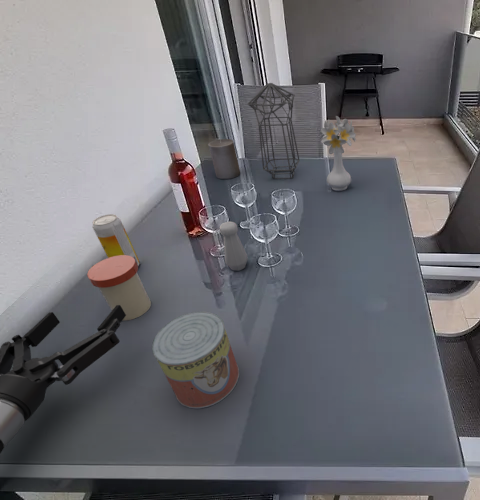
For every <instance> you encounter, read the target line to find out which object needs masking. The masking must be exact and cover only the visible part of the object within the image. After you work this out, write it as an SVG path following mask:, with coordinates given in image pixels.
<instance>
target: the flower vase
mask: <svg viewBox="0 0 480 500" xmlns="http://www.w3.org/2000/svg"><path fill="white" fill-rule="evenodd" d="M335 119H336V122H335V123H333V122H332V121H331V122H330V119H328V120H326V119H325V120H324V123H323V127H322V128H320V131H319V135H321V136H320V137H319V140H321V141H320V143H321V144H323V145H324V146H327V147H329V149H328V154H329V155H333V165H332V169H331V171H330V172H329V173H328V174H327V176H326V183H327V185H328V186H329V187H331V190H333V191H334V192H335V191H336V192H343V191H345V190H347V189H348V187H349V186H350V185H351V183H352V175H351V174H350V173H349V172H348V171H347V170H346V168H345V165H344V161H343V154H344V153H345V149H344V148H343V145H345V144H347V145H348V146H349V147H352V144H353V143H352V140H353V142H354V143H356V141H357V138H356V136H357V133H356V132H355V126H353V125H352V124H353V122H352V119H351V120H350V123H349V120H348V119H347V118H344V119H342V120H341V117H339V116H338V115H335ZM339 134H340V135H339Z"/></svg>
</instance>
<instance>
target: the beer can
mask: <svg viewBox="0 0 480 500" xmlns="http://www.w3.org/2000/svg"><path fill="white" fill-rule="evenodd" d="M92 229H93V231H94V233H95V235H96V237H97V239H98V241H99V243H100V245H101V247H102V249H103V251H104V253H105V254H106V257H107V258H110V257H114V256H119V255H128V256H131V257H133V258H134V259H135V261H136V263H137V265H138V267H139V265H140V260H139V259H140V258H139V257H138V255H137V253H136V251H135V248H134V246H133V244H132V242H131V239H130V238H129V237H130V236H129V235H128V232H127V231H126V228H125V226H124V223H123V222H122V219H121V218H120V217H119V216H118V215H116V214H114V213H111V214H109V213H108V214H103V215H100V216H98V217H96V218H94V219H93V220H92Z"/></svg>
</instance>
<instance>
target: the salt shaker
mask: <svg viewBox="0 0 480 500" xmlns="http://www.w3.org/2000/svg"><path fill="white" fill-rule="evenodd" d="M238 228H239V227H238V224H237V223H236V222H234V221H225V222H222V223H221V224H220V225H219V233H220V234H221V236H223V246H224V247H223V249H224V250H223V251H224V252H223V253H224V263H225V265H226V266H227V267H229V269H230V270H231V271H237V272H239V271H242V270H243V269H246V266H247V263H248V259H249V258H248V254H247V252H246V250H245V247H244V245H243V243H242V241H241V239H240V237H239V235H238V231H239V229H238Z"/></svg>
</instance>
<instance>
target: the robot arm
mask: <svg viewBox="0 0 480 500" xmlns="http://www.w3.org/2000/svg"><path fill="white" fill-rule="evenodd" d="M125 316H126V314H125V312H124V311H123V309H122V307H121V306H120V305H116V306H115V308H114V309H113V310H112V311H111V310H110V312H109V314H107V316H106V317H105V318H104V319H103V320H102V322H101V323H100V324H99V326H98V327H97V328H96V331H97V332H95V333H93V334H92V335H90V336H88V337H86V338H84V339H82V340H81V341H79V342H77V343H76V344H74V345H72V346H70V347H69V348H66V349H65V350H63V351H56V352H54V353H53V354H51V355H49V356H44V357H32V352H31V347H32V348H36V347H37V346H39V344H40V343H41V342H43V340H44V339H45V338H47V336H48V335H49V334H50V333H51V332H52V331H53V330H54V329H55V328H57V326H58V325H59V324H60V323H61V321H60V320H59V318H58V317H57V316H56V315H55V313H54V312H53V311H49V312H48V313H46V315H45V316H43V318H42V319H40V320H39V321H38V322H37V323H36V324H35V325H34V326H33V327H32V328H30V329H29V331H27V332H26V333H25V334H24V335H23V336H21V334H16V335H14V336H13V337H12V338H11V341H13V342H10V341H5V342H4V343H2V344H1V346H0V454H1V453H2V452H3V451H4V449H5V448H6V447H7V445H9V443H10V442H11V441H12V439H14V437H15V436H16V435H17V433H18V432H19V431H20V430H21V428H22V427H23V426H24V425H25V422H27V421H28V420H29V419H30V418H31V417H32V416H33V415H34V413H35V412H36V411H37V410H38V408H39V407H40V406H41V405H42V404H43V402H44V401H45V398H46V393H47V392H46V391H47V389H48V388H49V387H50V386H51V385H52V384H54V383H56V382H62V383H63V385H65V386H67V385H70V384H72V382H74V380H75V379H76V378H77V377H78V376H79V375H80V374H81V373H82V372H83V371H84V370H86V369H87V368H89V367H90V366H91V365H93V364H94V363H95V362H96V361H98V360H99V359H100V358H101V357H103V356H104V355H106V353H108V352H109V351H110V350H112V349H113V348H114V347H115V346H117V345H118V344H119V343H120V341H121V340H120V339H119V337H118V336H117V334H116V332H117V330H118V329H119V328H120V327H121V323H122V320H123V319H124V318H125ZM30 346H31V347H30ZM57 361H59V362H60V363H61V365H60V366H59V364H58V363H57Z"/></svg>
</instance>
